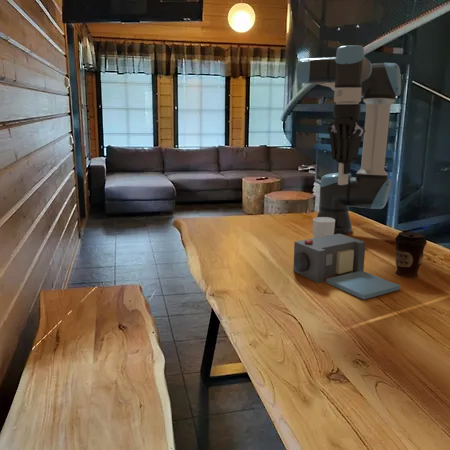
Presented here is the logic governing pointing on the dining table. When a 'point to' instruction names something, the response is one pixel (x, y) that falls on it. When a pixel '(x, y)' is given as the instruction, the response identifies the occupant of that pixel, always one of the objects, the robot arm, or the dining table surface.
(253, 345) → the dining table surface
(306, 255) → the grey notched block
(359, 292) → the side door
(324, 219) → the white cup
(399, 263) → the coffee cup
